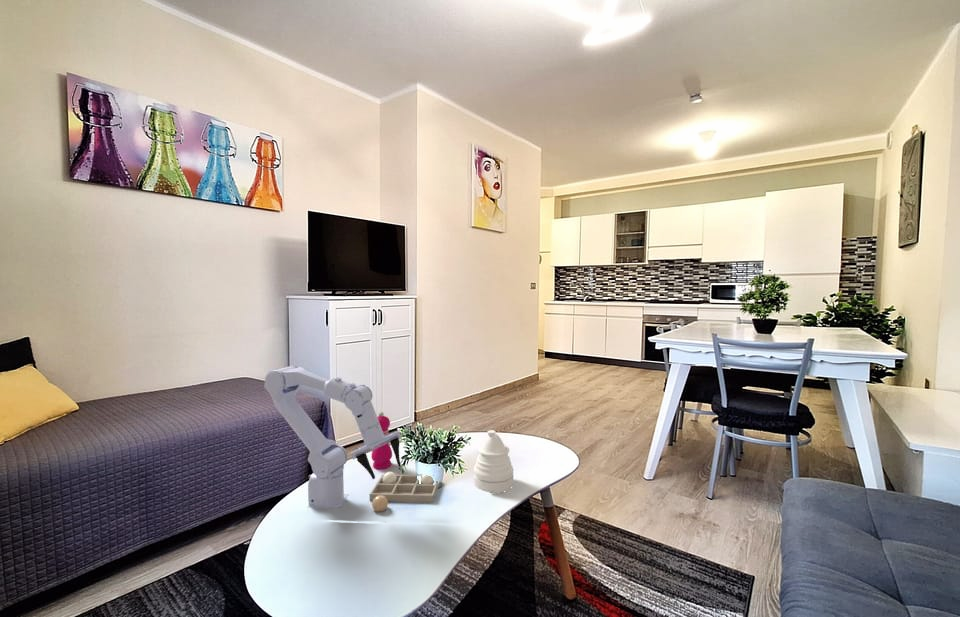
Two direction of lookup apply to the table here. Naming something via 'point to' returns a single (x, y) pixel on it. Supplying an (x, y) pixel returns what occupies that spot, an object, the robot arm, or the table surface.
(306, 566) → the table surface
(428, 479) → the cream egg right
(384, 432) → the pepper mill
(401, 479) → the carton
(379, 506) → the tan orange ball
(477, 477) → the honey pot
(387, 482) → the cream egg left
